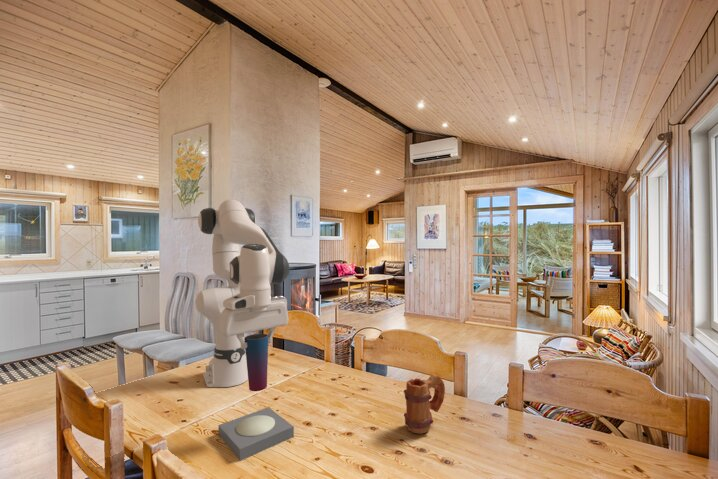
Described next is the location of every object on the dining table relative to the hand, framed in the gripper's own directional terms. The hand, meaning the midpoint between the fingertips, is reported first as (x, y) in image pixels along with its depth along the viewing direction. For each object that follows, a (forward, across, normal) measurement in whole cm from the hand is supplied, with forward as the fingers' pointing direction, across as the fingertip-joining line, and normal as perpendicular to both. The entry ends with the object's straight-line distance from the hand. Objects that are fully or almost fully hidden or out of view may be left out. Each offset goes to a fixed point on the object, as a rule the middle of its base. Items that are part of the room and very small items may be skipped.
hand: (256, 345), depth 101 cm
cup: (+12, 0, 0) cm, 13 cm away
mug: (+27, -39, +31) cm, 57 cm away
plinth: (+26, +1, 0) cm, 26 cm away
